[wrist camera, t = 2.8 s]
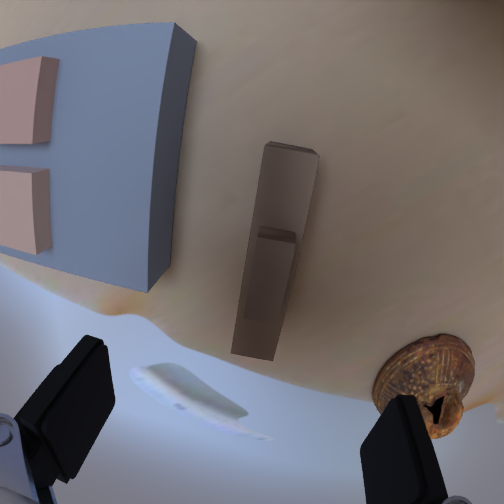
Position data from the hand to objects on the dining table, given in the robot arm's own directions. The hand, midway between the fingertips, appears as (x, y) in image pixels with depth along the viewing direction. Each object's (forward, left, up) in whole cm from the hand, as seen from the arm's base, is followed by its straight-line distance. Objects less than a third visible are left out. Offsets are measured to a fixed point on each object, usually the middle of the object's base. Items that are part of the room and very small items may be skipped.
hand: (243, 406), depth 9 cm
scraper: (0, 0, -17) cm, 17 cm away
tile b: (+19, -1, -12) cm, 23 cm away
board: (+18, -5, -17) cm, 25 cm away
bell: (-19, +12, -17) cm, 28 cm away
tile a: (+19, -9, -12) cm, 24 cm away
